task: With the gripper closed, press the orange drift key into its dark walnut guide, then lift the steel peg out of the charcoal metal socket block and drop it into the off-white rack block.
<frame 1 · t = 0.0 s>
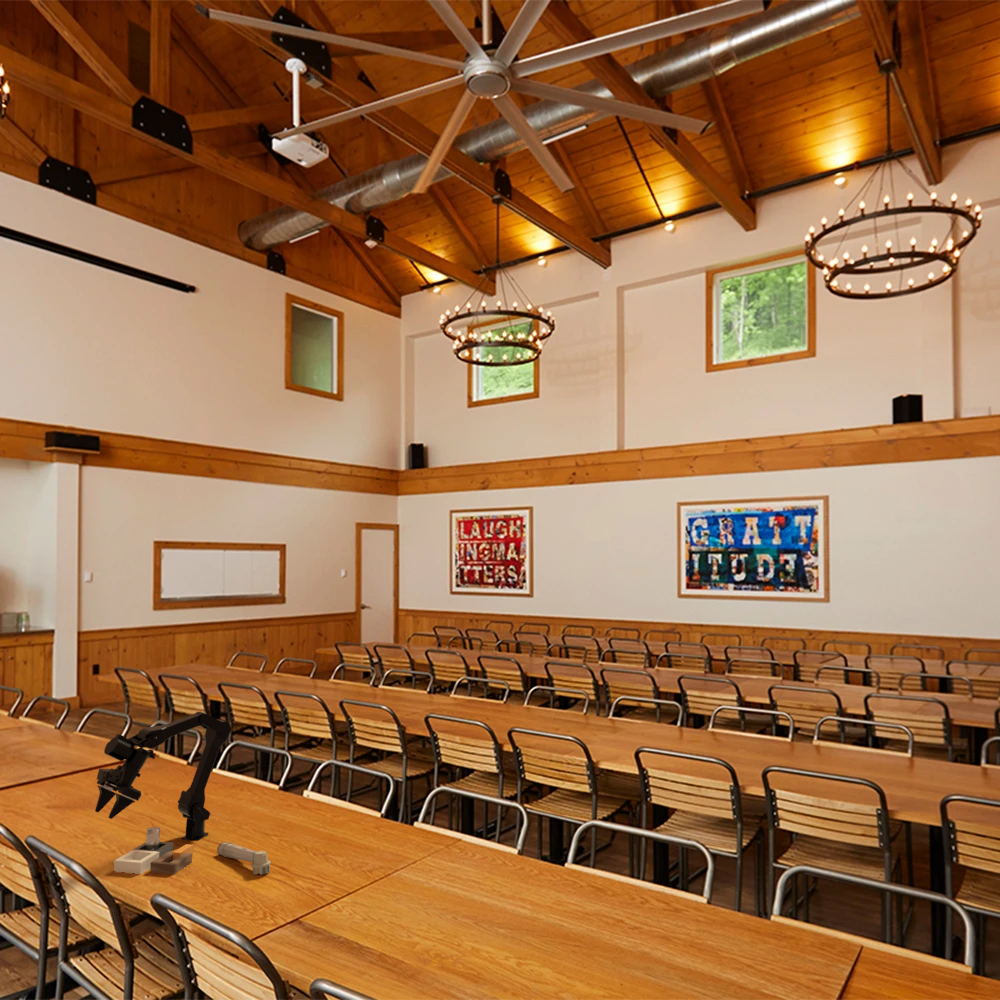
hand: (103, 815, 241), 15 cm above the table, tool tilted 35°, fingers open, 9 cm apart
rack: (136, 867, 238), on the table
socket block: (152, 854, 248), on the table
key guide: (172, 867, 238), on the table
peg: (152, 841, 248), in the socket block
grey handle with block: (243, 865, 241), on the table
drift key: (183, 854, 244), point 2 cm above the table, slide at 0.0 cm
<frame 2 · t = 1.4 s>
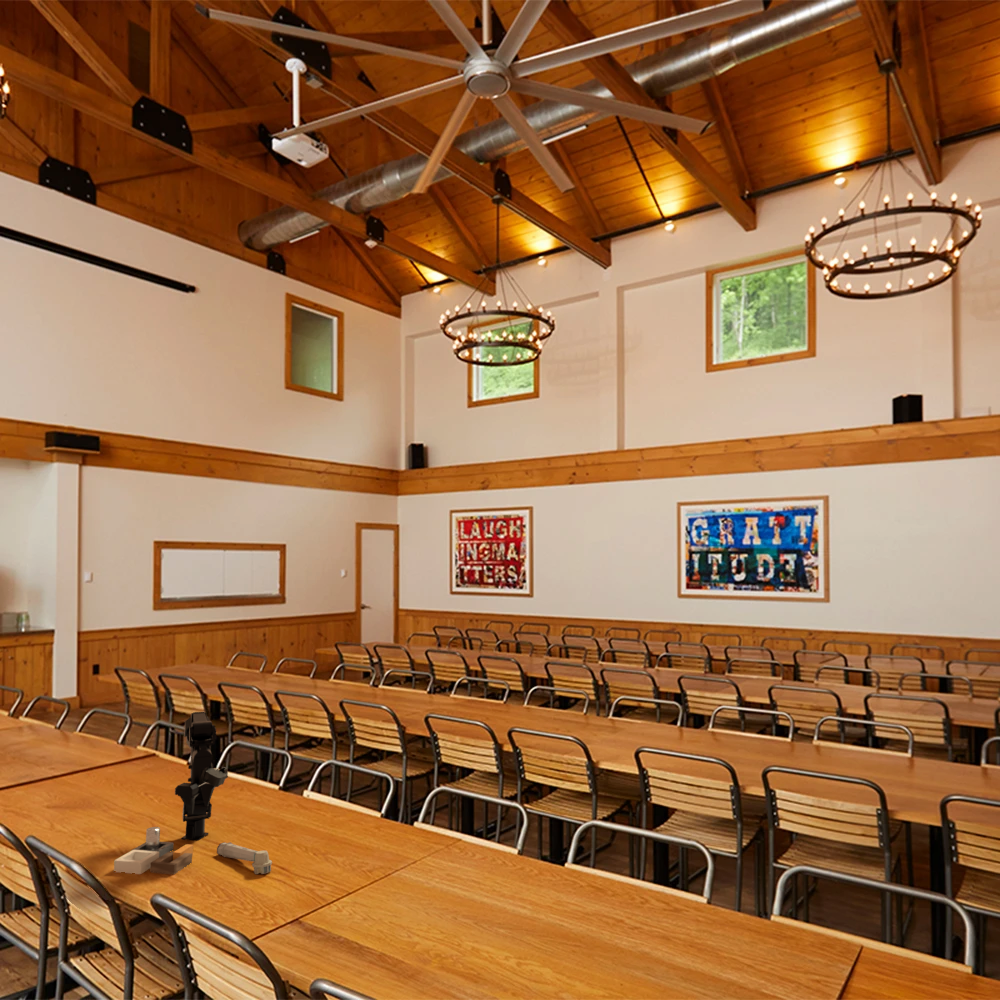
hand: (198, 810, 253), 13 cm above the table, tool pointing down, fingers open, 8 cm apart
nothing on the table moved.
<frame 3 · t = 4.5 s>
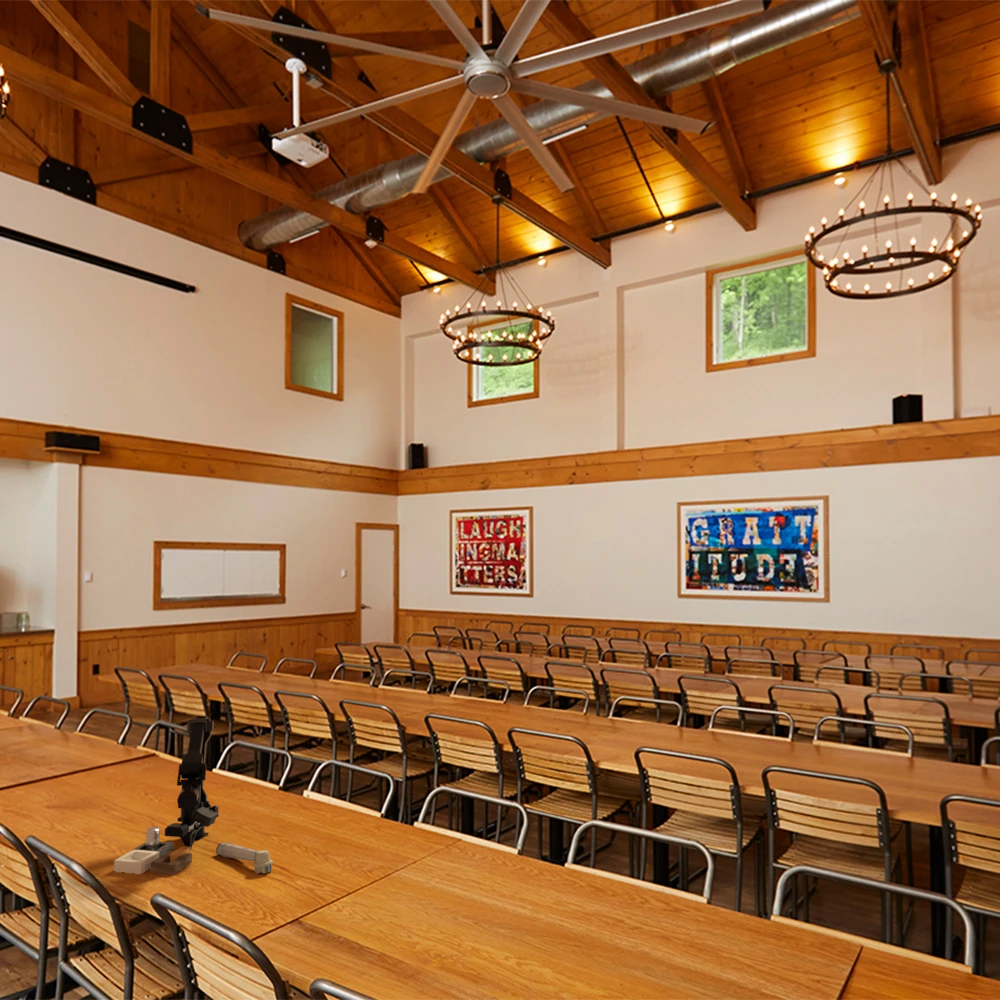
hand: (188, 850, 246), 2 cm above the table, tool pointing down, fingers closed
drift key: (180, 856, 242), point 2 cm above the table, slide at 1.7 cm, touching gripper
everything else where it was.
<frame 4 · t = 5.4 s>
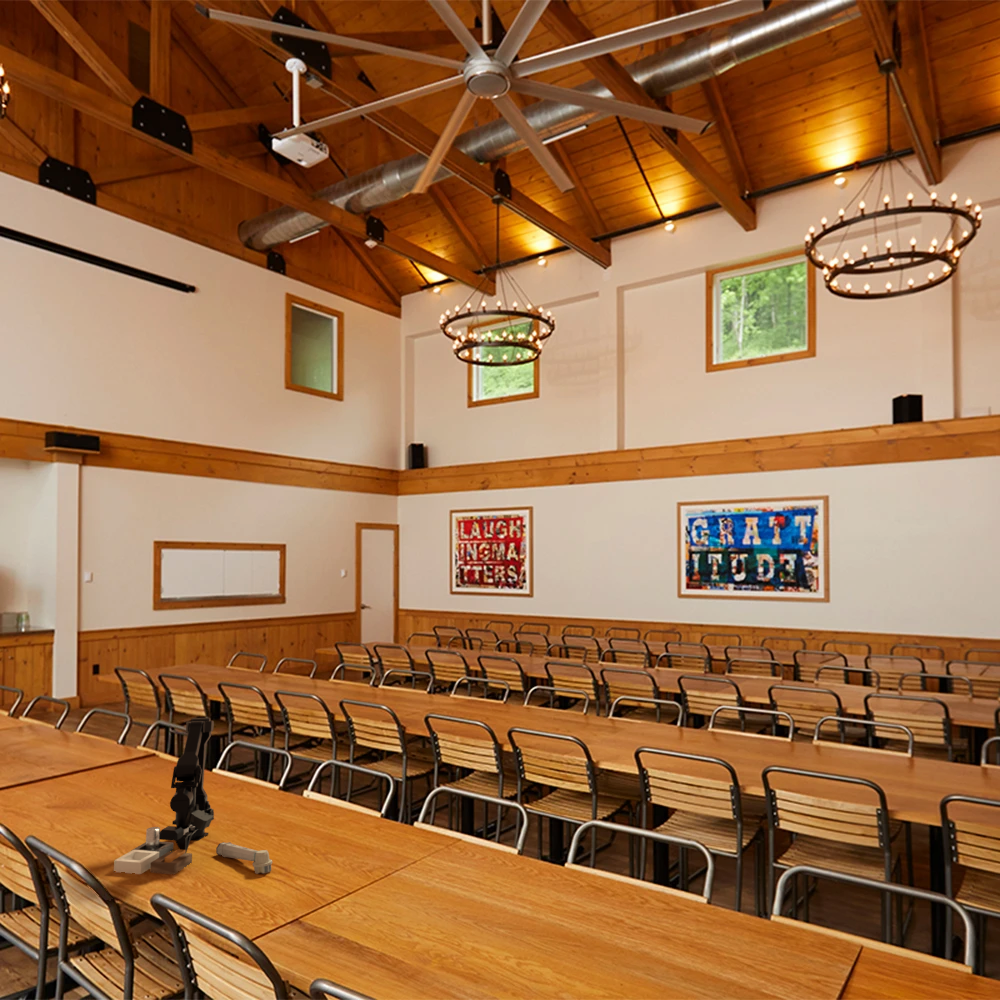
hand: (183, 853, 244), 2 cm above the table, tool pointing down, fingers closed
drift key: (174, 859, 239), point 2 cm above the table, slide at 4.3 cm, touching gripper
everything else where it was.
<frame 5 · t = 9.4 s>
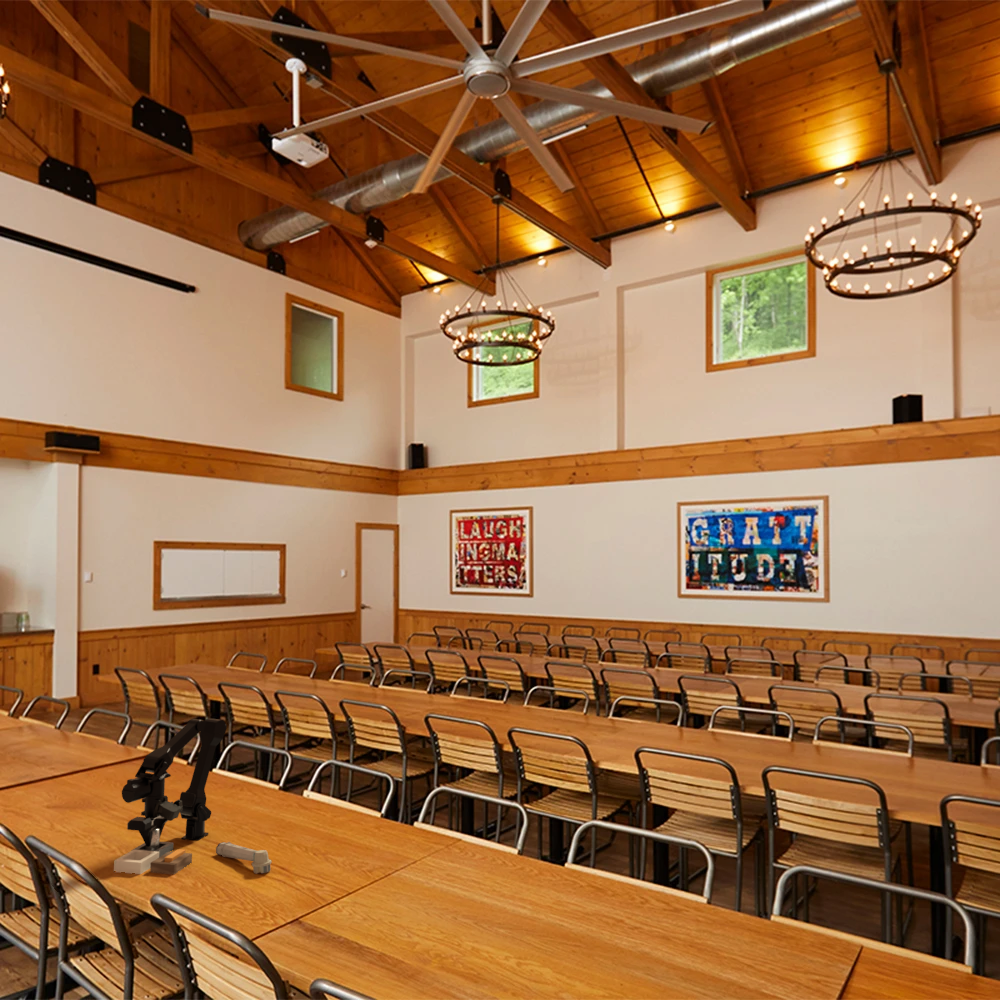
hand: (152, 843, 248), 3 cm above the table, tool pointing down, fingers closed on peg, 4 cm apart
peg: (152, 841, 248), in the socket block, touching gripper
drift key: (174, 859, 239), point 2 cm above the table, slide at 4.3 cm
everything else where it was.
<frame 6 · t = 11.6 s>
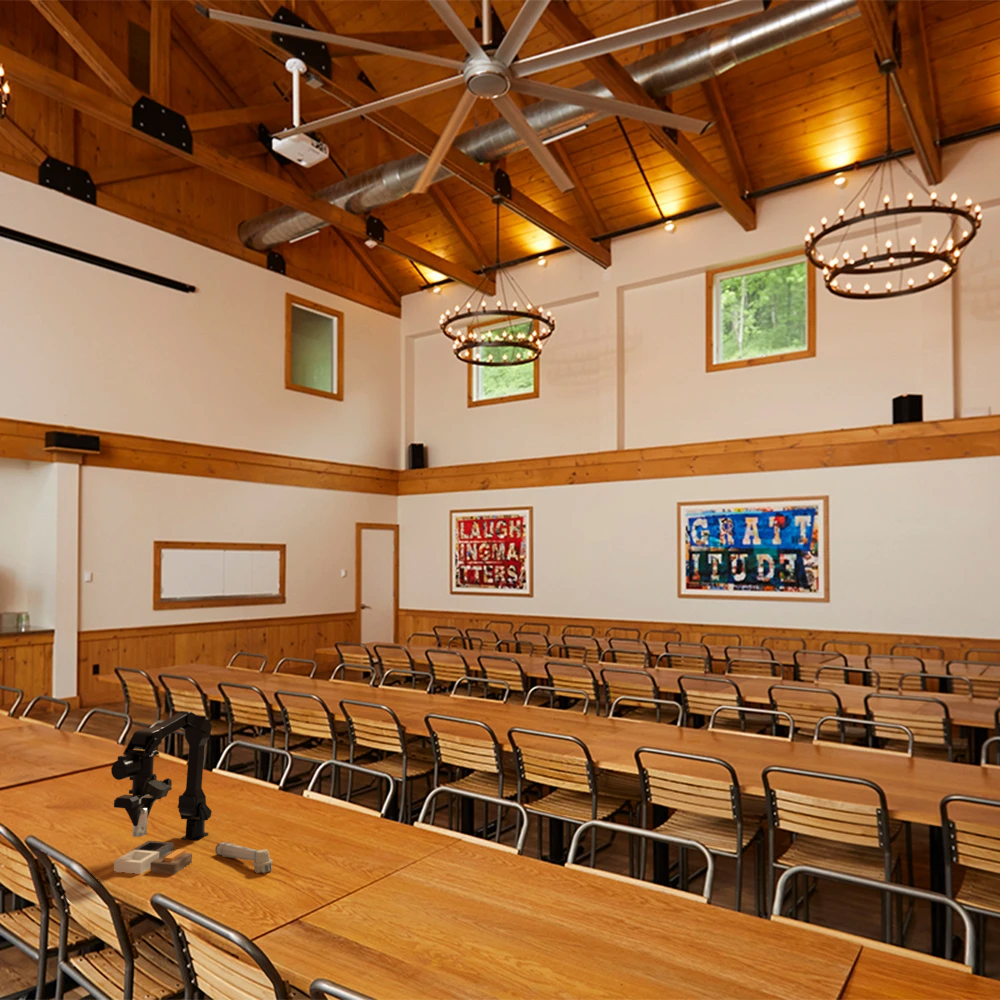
hand: (140, 823, 240), 13 cm above the table, tool pointing down, fingers closed on peg, 4 cm apart
peg: (140, 821, 240), point 13 cm above the table, touching gripper
everything else where it was.
when the fingers open (5 cm above the table, at t = 13.8 s): peg drops 1 cm, resting in rack.
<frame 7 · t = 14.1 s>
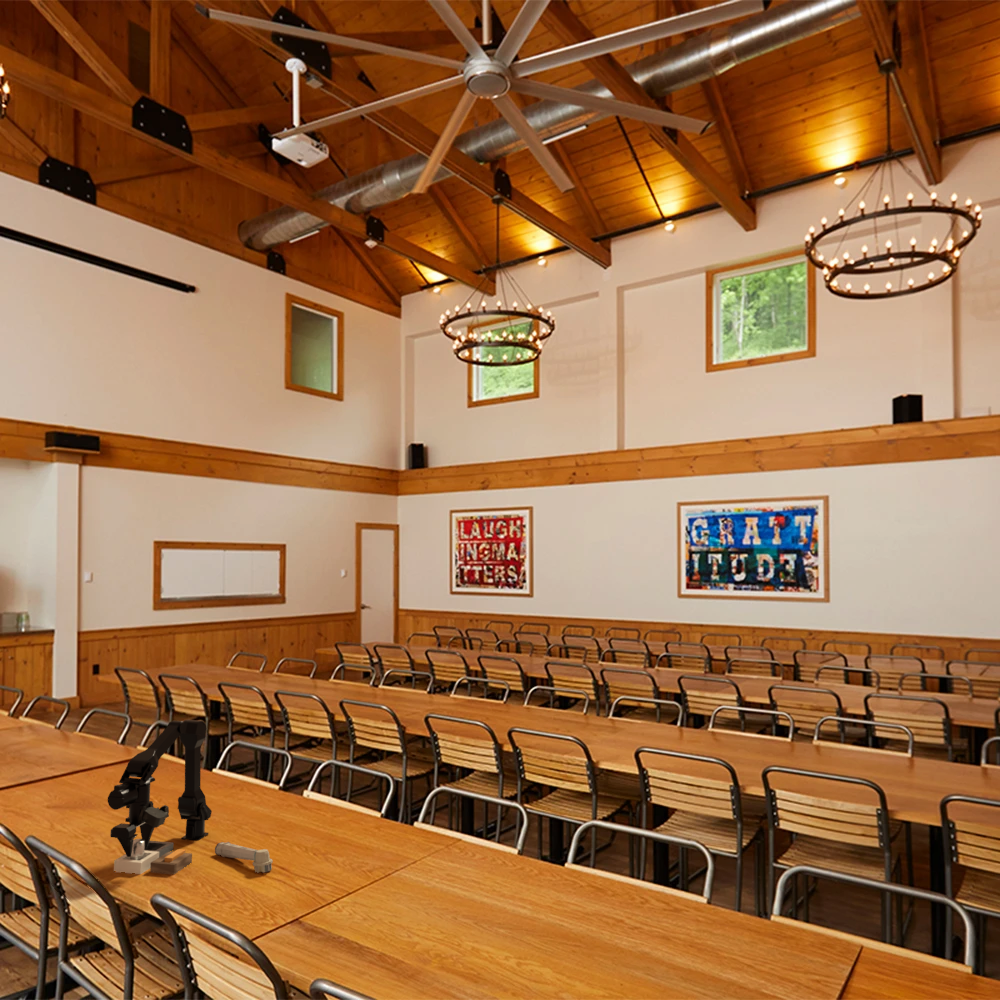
hand: (137, 851, 238), 5 cm above the table, tool pointing down, fingers open, 8 cm apart
peg: (137, 854, 238), in the rack
everything else where it was.
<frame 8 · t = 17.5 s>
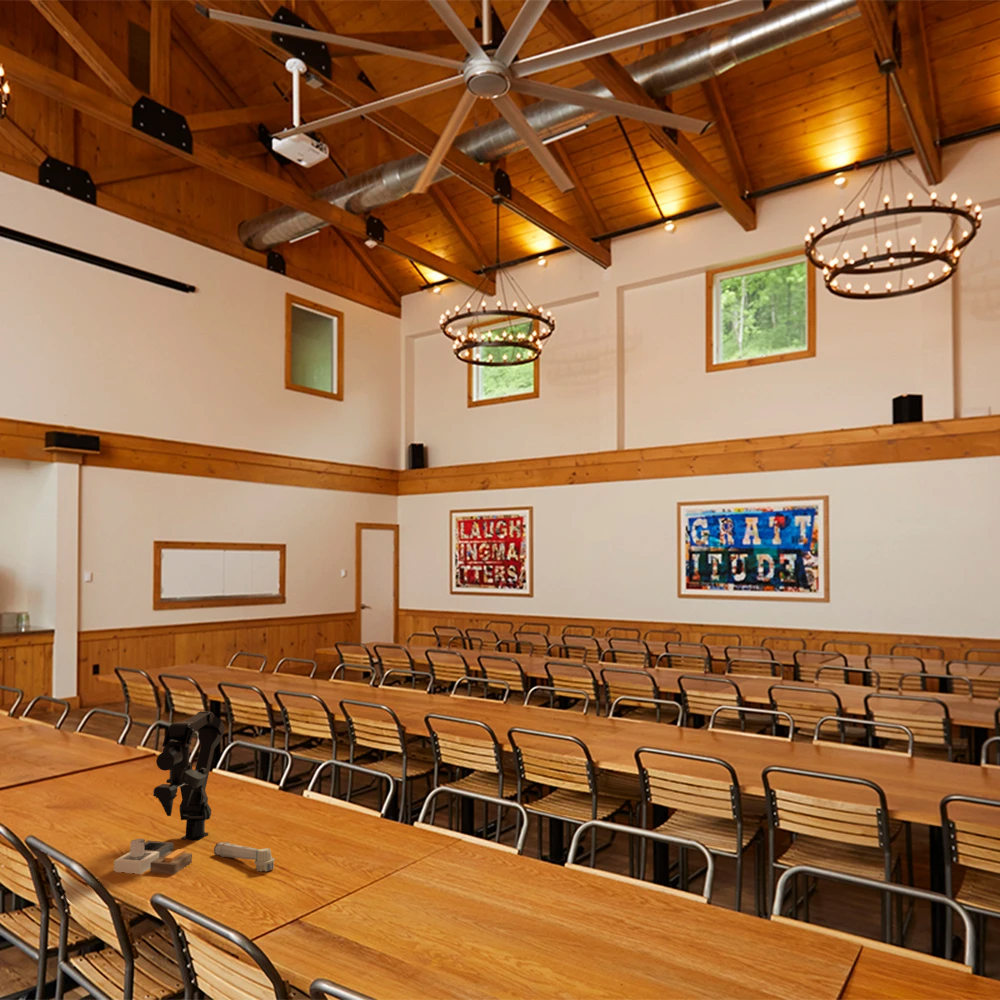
hand: (177, 811, 251), 13 cm above the table, tool pointing down, fingers open, 9 cm apart
at the end: drift key slide at 4.3 cm; peg 0.0 cm off-centre on the rack, point 4.0 cm above the rack's base; peg tilted 0° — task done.
